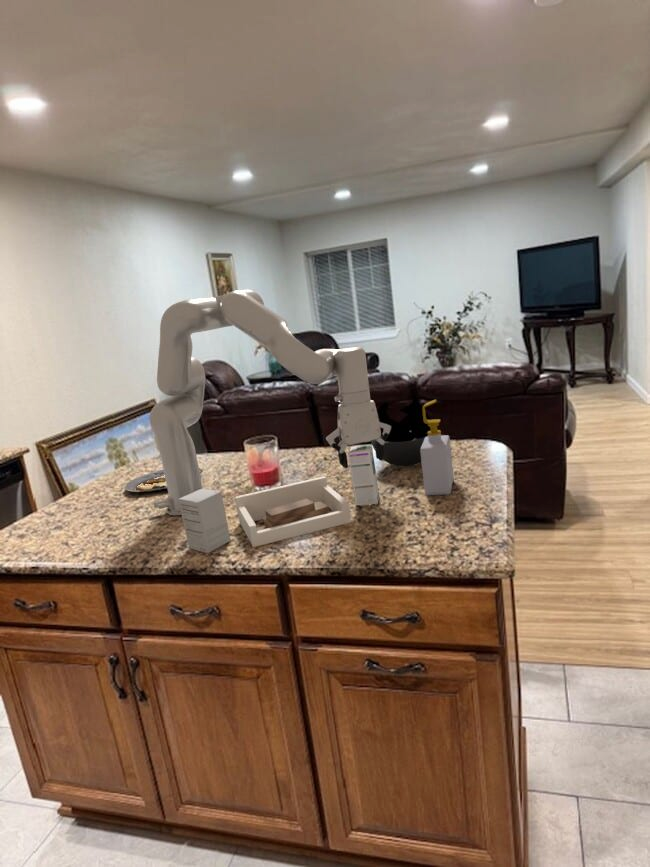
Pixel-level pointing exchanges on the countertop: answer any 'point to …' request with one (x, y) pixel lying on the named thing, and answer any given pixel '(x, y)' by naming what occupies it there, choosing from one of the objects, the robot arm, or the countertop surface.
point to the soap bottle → (436, 459)
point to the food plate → (145, 478)
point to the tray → (313, 489)
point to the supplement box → (204, 520)
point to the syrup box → (363, 475)
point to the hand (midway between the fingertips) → (362, 462)
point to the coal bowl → (404, 436)
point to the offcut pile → (293, 513)
